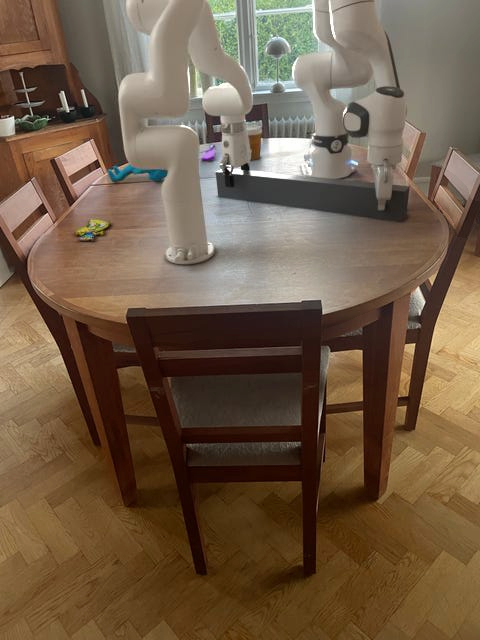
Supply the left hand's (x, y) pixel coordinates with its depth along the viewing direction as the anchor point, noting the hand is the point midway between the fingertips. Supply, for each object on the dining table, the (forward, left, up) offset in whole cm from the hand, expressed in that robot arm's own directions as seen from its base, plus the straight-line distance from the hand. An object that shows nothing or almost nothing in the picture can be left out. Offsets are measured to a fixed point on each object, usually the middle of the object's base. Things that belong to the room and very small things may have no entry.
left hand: (238, 182), depth 157 cm
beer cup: (+48, -4, -5) cm, 48 cm away
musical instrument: (+57, +19, -5) cm, 60 cm away
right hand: (-24, -41, -2) cm, 48 cm away
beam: (-12, -20, -5) cm, 24 cm away
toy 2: (+26, +36, -5) cm, 45 cm away
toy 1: (-23, +43, -5) cm, 49 cm away
